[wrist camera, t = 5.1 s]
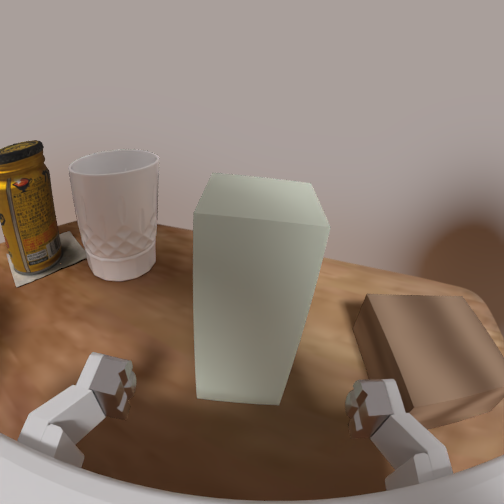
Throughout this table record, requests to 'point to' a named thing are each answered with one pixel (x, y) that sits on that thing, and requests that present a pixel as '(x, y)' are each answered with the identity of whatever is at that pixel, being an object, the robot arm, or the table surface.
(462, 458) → the table surface
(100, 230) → the white cup
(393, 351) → the walnut base
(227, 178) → the sage block
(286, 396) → the table surface
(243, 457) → the table surface
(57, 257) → the condiment
